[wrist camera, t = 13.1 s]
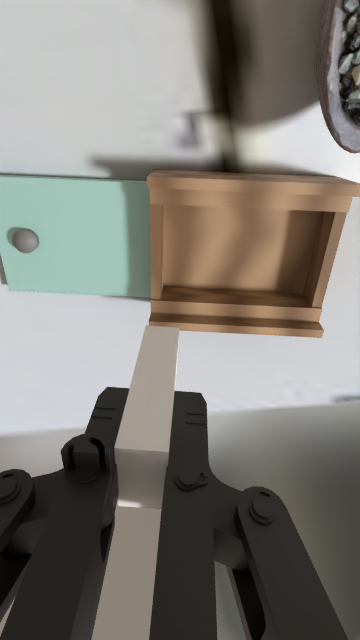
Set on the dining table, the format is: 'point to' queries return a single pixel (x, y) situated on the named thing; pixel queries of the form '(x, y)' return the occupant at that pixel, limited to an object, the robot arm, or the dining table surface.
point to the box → (243, 250)
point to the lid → (75, 235)
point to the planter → (340, 71)
